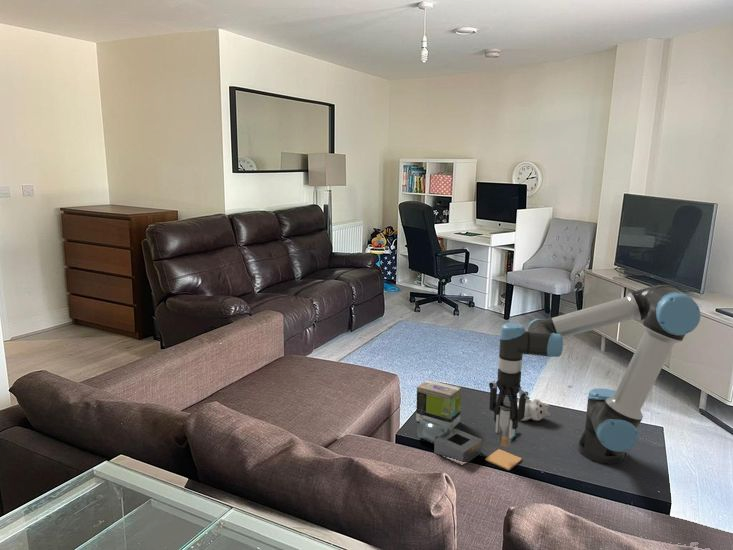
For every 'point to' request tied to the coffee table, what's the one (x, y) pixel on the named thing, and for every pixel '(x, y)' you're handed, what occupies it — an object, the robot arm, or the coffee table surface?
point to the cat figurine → (535, 409)
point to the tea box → (439, 403)
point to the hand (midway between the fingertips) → (504, 433)
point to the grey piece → (450, 441)
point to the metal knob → (504, 424)
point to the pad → (503, 459)
